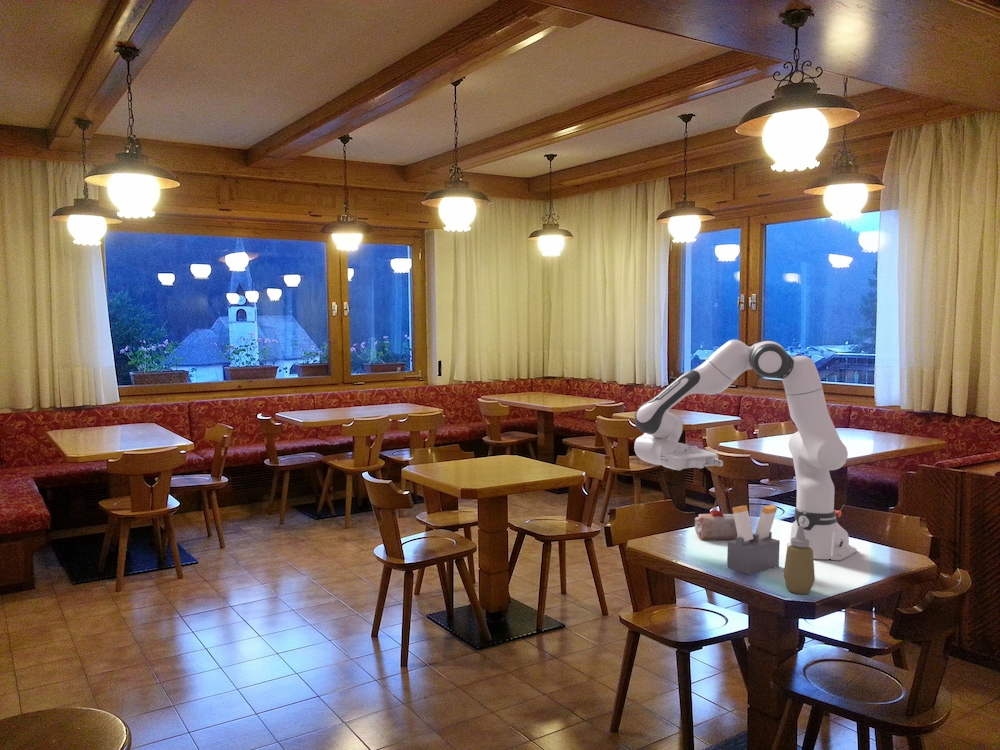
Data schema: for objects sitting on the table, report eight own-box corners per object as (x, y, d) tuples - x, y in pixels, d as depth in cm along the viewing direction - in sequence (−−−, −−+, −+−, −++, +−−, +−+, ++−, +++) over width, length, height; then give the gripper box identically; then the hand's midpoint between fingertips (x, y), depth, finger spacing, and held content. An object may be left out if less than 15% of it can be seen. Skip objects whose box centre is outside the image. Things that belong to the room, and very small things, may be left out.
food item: (698, 541, 257) (698, 512, 257) (693, 534, 265) (694, 506, 264) (739, 542, 256) (740, 513, 256) (733, 535, 264) (734, 507, 264)
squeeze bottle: (819, 590, 209) (821, 526, 208) (807, 598, 204) (809, 531, 202) (789, 583, 215) (792, 520, 214) (778, 590, 209) (780, 526, 208)
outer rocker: (748, 539, 229) (741, 505, 231) (753, 538, 228) (746, 505, 229) (738, 541, 226) (732, 507, 228) (743, 541, 225) (736, 507, 227)
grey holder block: (756, 559, 237) (757, 528, 236) (778, 566, 230) (779, 533, 230) (727, 567, 229) (727, 534, 228) (749, 574, 222) (750, 541, 222)
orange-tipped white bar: (763, 533, 233) (772, 504, 230) (768, 536, 232) (777, 507, 229) (754, 536, 230) (762, 506, 228) (759, 539, 229) (767, 509, 226)
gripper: (656, 448, 240) (692, 456, 229) (697, 445, 253) (732, 453, 242) (654, 467, 240) (690, 477, 230) (695, 463, 253) (730, 472, 242)
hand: (712, 464), depth 236 cm, fingers open, 8 cm apart
